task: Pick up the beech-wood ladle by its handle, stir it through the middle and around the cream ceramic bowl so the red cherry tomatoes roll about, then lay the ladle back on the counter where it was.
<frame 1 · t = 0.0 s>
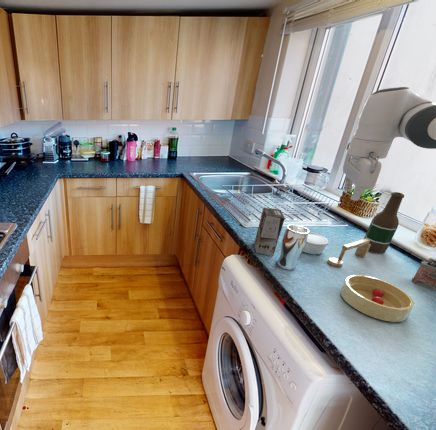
hand: (350, 194, 87), 29 cm above the worktop, tool pointing down, fingers open, 8 cm apart
beer glass: (285, 265, 104), on the worktop
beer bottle: (372, 249, 116), on the worktop
tomato c: (378, 293, 88), point 2 cm above the worktop, touching bowl
coffee box: (263, 249, 114), on the worktop
lighter: (427, 286, 95), on the worktop
tomato a: (377, 301, 84), point 2 cm above the worktop, touching bowl
ramekin: (307, 249, 115), on the worktop
tomato b: (361, 300, 84), point 2 cm above the worktop, touching bowl
bowl: (371, 304, 86), on the worktop
ladle: (334, 263, 105), on the worktop
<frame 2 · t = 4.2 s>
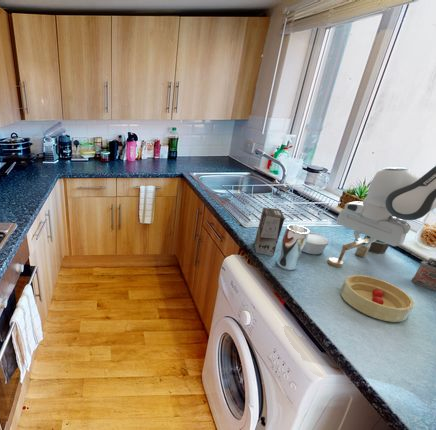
hand: (361, 244, 108), 5 cm above the worktop, tool pointing down, fingers closed on ladle, 2 cm apart
ladle: (334, 263, 105), on the worktop, touching gripper
everything else where it was.
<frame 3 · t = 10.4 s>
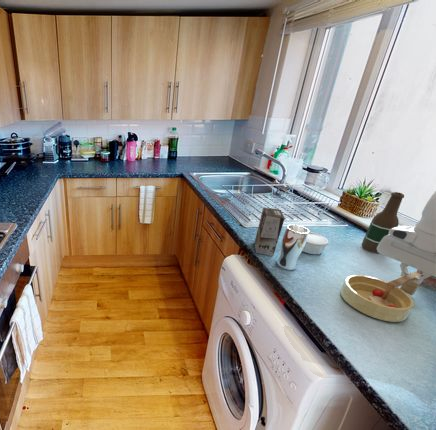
hand: (410, 279, 87), 6 cm above the worktop, tool pointing down, fingers closed on ladle, 2 cm apart
tomato a: (392, 309, 81), point 2 cm above the worktop, tilted 160°, touching bowl, ladle
ladle: (377, 304, 85), point 1 cm above the worktop, touching gripper, tomato a
everything else where it was.
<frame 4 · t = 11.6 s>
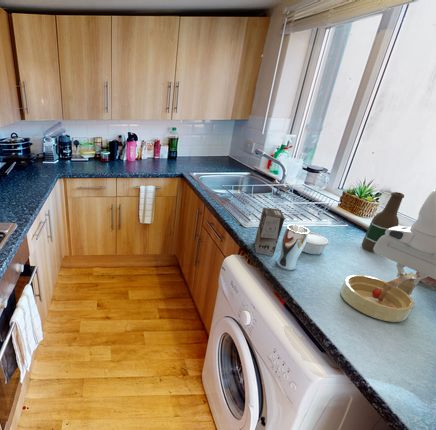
hand: (406, 280, 86), 6 cm above the worktop, tool pointing down, fingers closed on ladle, 2 cm apart
tomato a: (390, 310, 81), point 2 cm above the worktop, tilted 167°, touching bowl, ladle
tomato b: (360, 300, 84), point 2 cm above the worktop, tilted 13°, touching bowl, ladle
ladle: (373, 305, 84), point 1 cm above the worktop, touching gripper, tomato a, tomato b
everything else where it was.
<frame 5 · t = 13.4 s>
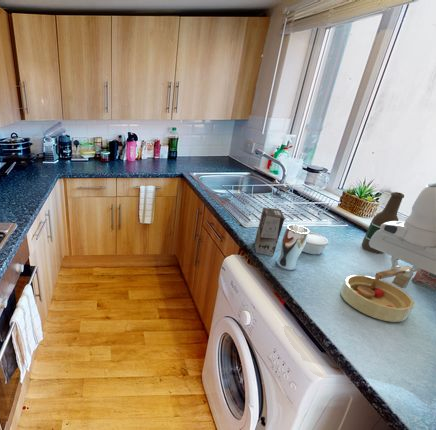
hand: (400, 273, 90), 6 cm above the worktop, tool pointing down, fingers closed on ladle, 2 cm apart
tomato c: (378, 292, 88), point 2 cm above the worktop, tilted 30°, touching bowl, ladle
tomato a: (389, 309, 81), point 2 cm above the worktop, tilted 165°, touching bowl
tomato b: (355, 295, 87), point 2 cm above the worktop, tilted 76°, touching bowl
ladle: (364, 293, 89), point 1 cm above the worktop, touching gripper, tomato c
everything else where it was.
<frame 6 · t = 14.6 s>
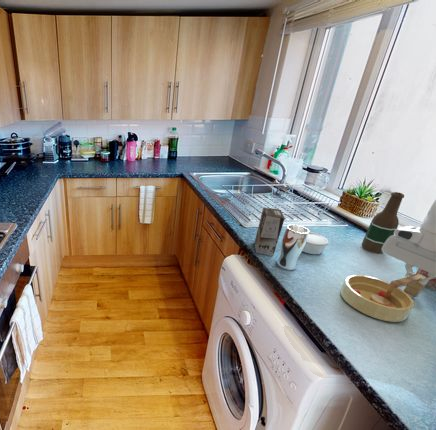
hand: (415, 280, 87), 6 cm above the worktop, tool pointing down, fingers closed on ladle, 2 cm apart
tomato c: (383, 295, 87), point 2 cm above the worktop, tilted 66°, touching bowl
tomato a: (390, 310, 81), point 2 cm above the worktop, tilted 163°, touching bowl, ladle
tomato b: (354, 293, 87), point 2 cm above the worktop, tilted 118°, touching bowl
ladle: (378, 303, 84), point 1 cm above the worktop, touching gripper, tomato a
everything else where it was.
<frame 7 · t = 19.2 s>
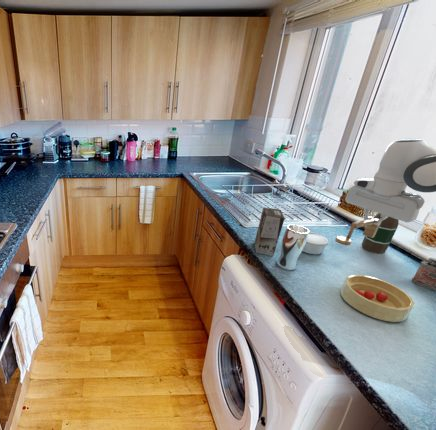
hand: (371, 222, 104), 15 cm above the worktop, tool pointing down, fingers closed on ladle
tomato c: (381, 296, 86), point 2 cm above the worktop, tilted 48°, touching bowl
tomato a: (369, 295, 87), point 2 cm above the worktop, tilted 59°, touching bowl
tomato b: (358, 294, 87), point 2 cm above the worktop, tilted 100°, touching bowl
ladle: (342, 242, 101), point 9 cm above the worktop, touching gripper
everything else where it was.
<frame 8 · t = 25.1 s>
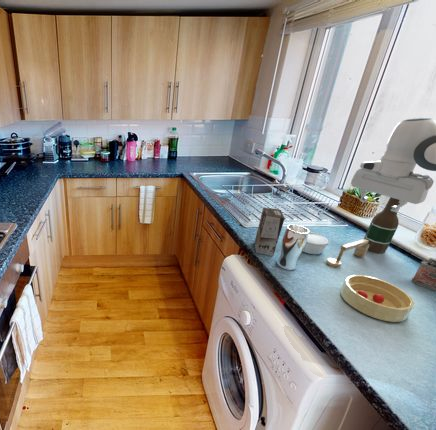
hand: (378, 206, 101), 21 cm above the worktop, tool pointing down, fingers open, 8 cm apart
tomato c: (378, 298, 86), point 2 cm above the worktop, tilted 80°, touching bowl
tomato a: (380, 308, 82), point 2 cm above the worktop, tilted 159°, touching bowl
tomato b: (362, 295, 87), point 2 cm above the worktop, tilted 74°, touching bowl
ladle: (333, 264, 105), on the worktop
everything else where it was.
at the end: tomato a moved 3.3 cm from its start; tomato a inside the target area in the bowl (4.0 cm from its centre), point 1.9 cm above the bowl's base; ladle inside the target area (0.8 cm from its centre), on the worktop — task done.
